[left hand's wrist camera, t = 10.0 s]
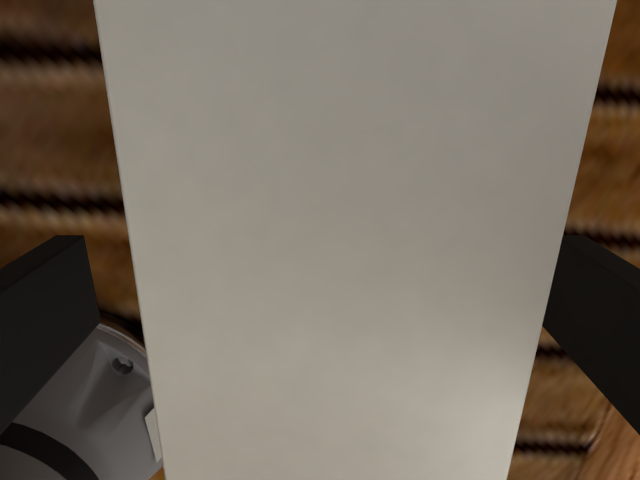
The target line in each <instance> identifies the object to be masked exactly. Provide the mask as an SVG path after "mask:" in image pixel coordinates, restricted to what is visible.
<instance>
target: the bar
mask: <svg viewBox="0 0 640 480" xmlns="http://www.w3.org/2000/svg"><path fill="white" fill-rule="evenodd" d="M93 2H94V9H95V15H96V22H97V29H98V35H99V42H100V49H101V55H102V62H103V69H104V75H105V82H106V89H107V95H108V102H109V109H110V115H111V122H112V129H113V135H114V142H115V149H116V155H117V162H118V168H119V175H120V182H121V188H122V195H123V202H124V208H125V215H126V222H127V228H128V235H129V242H130V248H131V255H132V262H133V268H134V275H135V282H136V288H137V295H138V302H139V308H140V315H141V322H142V328H143V335H144V342H145V348H146V355H147V362H148V368H149V375H150V382H151V388H152V395H153V402H154V408H155V415H156V422H157V428H158V435H159V442H160V448H161V455H162V461H163V468H164V475H165V480H507V475H508V471H509V467H510V462H511V458H512V454H513V449H514V445H515V441H516V436H517V432H518V428H519V423H520V419H521V415H522V410H523V406H524V402H525V397H526V393H527V389H528V384H529V380H530V376H531V371H532V367H533V363H534V358H535V354H536V349H537V345H538V341H539V336H540V332H541V328H542V323H543V319H544V315H545V310H546V306H547V302H548V297H549V293H550V289H551V284H552V280H553V276H554V271H555V267H556V263H557V258H558V254H559V250H560V245H561V241H562V237H563V232H564V228H565V224H566V219H567V215H568V211H569V206H570V202H571V198H572V193H573V189H574V185H575V180H576V176H577V172H578V167H579V163H580V159H581V154H582V150H583V146H584V141H585V137H586V133H587V128H588V124H589V119H590V115H591V111H592V106H593V102H594V98H595V93H596V89H597V85H598V80H599V76H600V72H601V67H602V63H603V59H604V54H605V50H606V46H607V41H608V37H609V33H610V28H611V24H612V20H613V15H614V11H615V7H616V2H617V0H93Z"/></svg>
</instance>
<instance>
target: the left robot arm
mask: <svg viewBox="0 0 640 480" xmlns="http://www.w3.org/2000/svg"><path fill="white" fill-rule="evenodd" d="M542 326H543V327H544V328H545V329H546V330H547V332H548V333H549V334H550V335H551V336H552V337H553V338H554V339H555V341H556V342H557V343H558V344H559V345H560V346H561V347H562V348H563V349H564V351H565V352H566V353H567V354H568V355H569V356H570V357H571V358H572V360H573V361H574V362H575V363H576V364H577V365H578V366H579V367H580V369H581V370H582V371H583V372H584V373H585V374H586V375H587V376H588V378H589V379H590V380H591V381H592V382H593V383H594V384H595V385H596V387H597V388H598V389H599V390H600V391H601V392H602V393H603V394H604V396H605V397H606V398H607V399H608V400H609V401H610V402H611V403H612V405H613V406H614V407H615V408H616V409H617V410H618V411H619V412H620V414H621V415H622V416H623V417H624V418H625V419H626V420H627V421H628V423H629V424H630V425H631V426H632V427H633V428H634V429H635V430H636V431H637V433H638V434H639V435H640V269H639V268H637V267H635V266H634V265H632V264H630V263H629V262H627V261H625V260H624V259H622V258H620V257H619V256H617V255H616V254H614V253H612V252H611V251H609V250H607V249H606V248H604V247H602V246H601V245H599V244H597V243H596V242H594V241H592V240H591V239H589V238H587V237H586V236H584V235H563V237H562V241H561V245H560V250H559V254H558V258H557V263H556V267H555V271H554V276H553V280H552V284H551V289H550V293H549V297H548V302H547V306H546V310H545V315H544V319H543V323H542ZM162 465H163V461H162V455H161V448H160V442H159V435H158V428H157V422H156V415H155V408H154V402H153V395H152V388H151V382H150V375H149V368H148V362H147V355H146V348H145V342H144V335H143V332H142V331H140V330H139V329H137V328H136V327H134V326H132V325H131V324H129V323H127V322H125V321H123V320H121V319H119V318H117V317H114V316H112V315H110V314H107V313H104V312H100V311H99V309H98V304H97V300H96V295H95V290H94V285H93V280H92V275H91V270H90V265H89V260H88V255H87V250H86V245H85V240H84V235H56V236H54V237H53V238H51V239H49V240H48V241H46V242H44V243H43V244H41V245H39V246H38V247H36V248H34V249H33V250H31V251H29V252H28V253H26V254H24V255H23V256H21V257H20V258H18V259H16V260H15V261H13V262H11V263H10V264H8V265H6V266H5V267H3V268H1V269H0V480H149V479H150V478H151V476H152V475H154V474H155V473H156V472H157V471H158V470H159V469H160V468H161V466H162Z"/></svg>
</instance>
